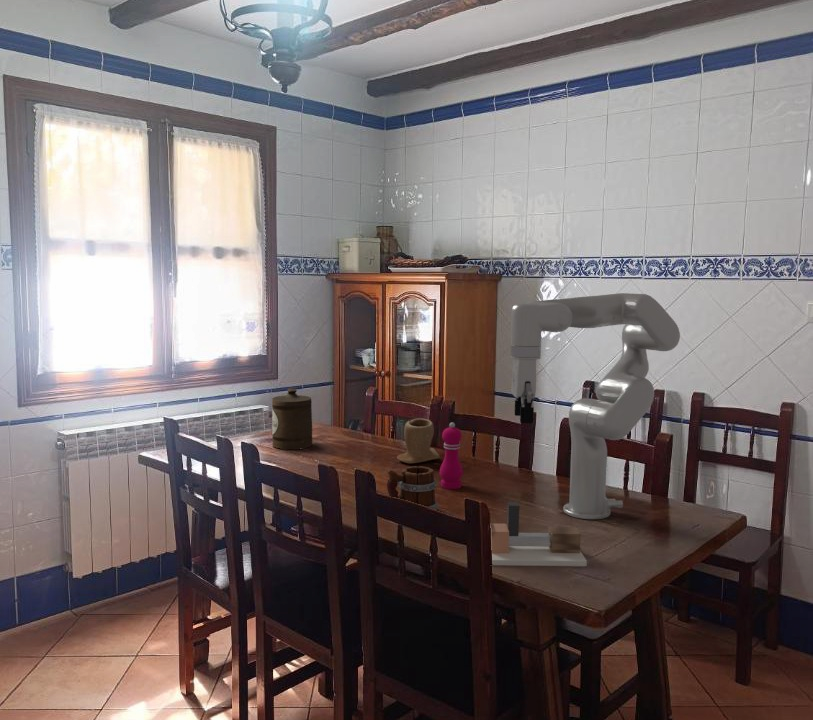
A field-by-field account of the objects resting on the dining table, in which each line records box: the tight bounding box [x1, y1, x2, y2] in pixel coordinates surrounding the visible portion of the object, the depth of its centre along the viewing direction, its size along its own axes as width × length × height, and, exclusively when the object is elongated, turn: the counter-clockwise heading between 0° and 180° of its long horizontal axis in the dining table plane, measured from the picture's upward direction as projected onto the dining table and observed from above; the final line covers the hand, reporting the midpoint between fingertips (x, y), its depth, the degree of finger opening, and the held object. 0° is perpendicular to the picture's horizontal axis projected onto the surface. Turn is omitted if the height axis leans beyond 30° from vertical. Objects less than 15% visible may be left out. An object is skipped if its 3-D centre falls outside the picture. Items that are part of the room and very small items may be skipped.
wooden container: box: [271, 387, 313, 450], centre depth 279 cm, size 15×15×22 cm
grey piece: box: [506, 501, 552, 547], centre depth 173 cm, size 14×2×10 cm, turn 90°
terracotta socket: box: [489, 522, 509, 553], centre depth 173 cm, size 4×6×5 cm
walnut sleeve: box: [547, 526, 582, 553], centre depth 173 cm, size 6×5×5 cm
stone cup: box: [396, 417, 440, 464], centre depth 257 cm, size 15×12×15 cm
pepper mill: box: [439, 422, 464, 490], centre depth 227 cm, size 7×7×20 cm
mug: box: [386, 465, 439, 511], centre depth 202 cm, size 12×14×15 cm
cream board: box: [492, 546, 588, 567], centre depth 174 cm, size 22×14×1 cm, turn 90°
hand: (523, 419), depth 189 cm, fingers open, 9 cm apart
